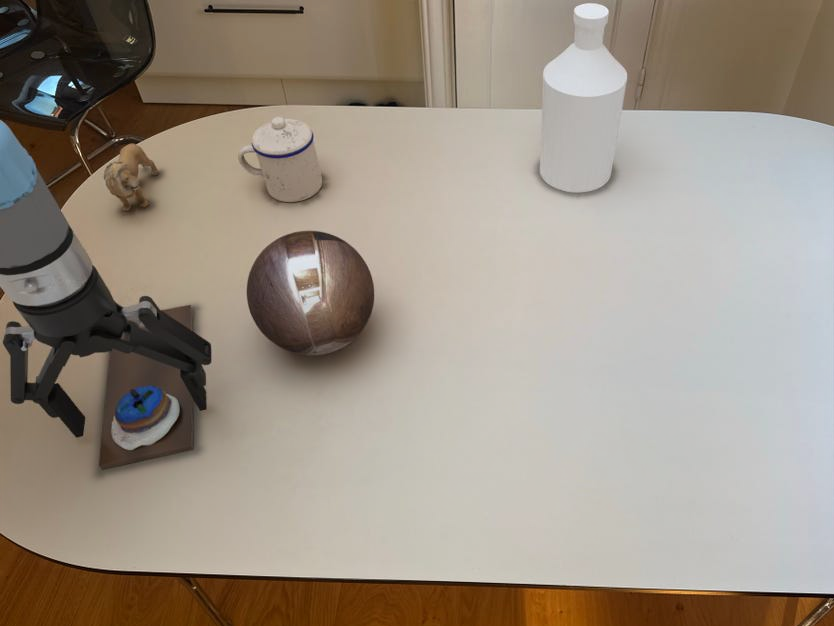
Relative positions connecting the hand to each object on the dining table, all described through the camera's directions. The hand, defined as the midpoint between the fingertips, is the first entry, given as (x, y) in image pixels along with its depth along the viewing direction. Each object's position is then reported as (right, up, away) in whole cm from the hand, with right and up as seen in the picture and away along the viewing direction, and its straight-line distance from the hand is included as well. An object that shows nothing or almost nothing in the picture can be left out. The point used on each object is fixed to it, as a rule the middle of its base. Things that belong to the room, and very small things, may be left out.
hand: (142, 414), depth 81 cm
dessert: (0, -1, +1) cm, 1 cm away
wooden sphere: (+19, +9, +10) cm, 23 cm away
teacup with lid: (+8, +34, +30) cm, 46 cm away
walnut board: (-2, +4, +6) cm, 7 cm away
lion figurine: (-14, +32, +29) cm, 46 cm away
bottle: (+54, +36, +31) cm, 72 cm away
